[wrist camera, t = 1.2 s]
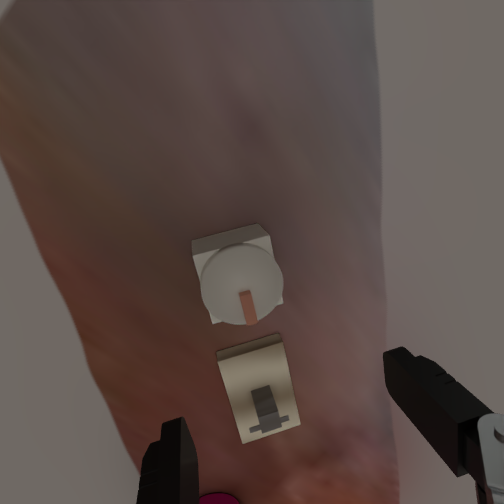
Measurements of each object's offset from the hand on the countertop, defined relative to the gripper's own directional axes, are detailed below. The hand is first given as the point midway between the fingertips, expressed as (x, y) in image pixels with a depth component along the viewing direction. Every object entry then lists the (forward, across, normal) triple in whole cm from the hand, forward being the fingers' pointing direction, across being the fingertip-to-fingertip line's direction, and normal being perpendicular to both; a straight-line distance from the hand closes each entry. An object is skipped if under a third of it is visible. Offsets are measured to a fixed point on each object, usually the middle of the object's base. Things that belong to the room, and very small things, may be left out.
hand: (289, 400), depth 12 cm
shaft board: (+16, 0, +13) cm, 21 cm away
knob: (+16, 0, 0) cm, 16 cm away
